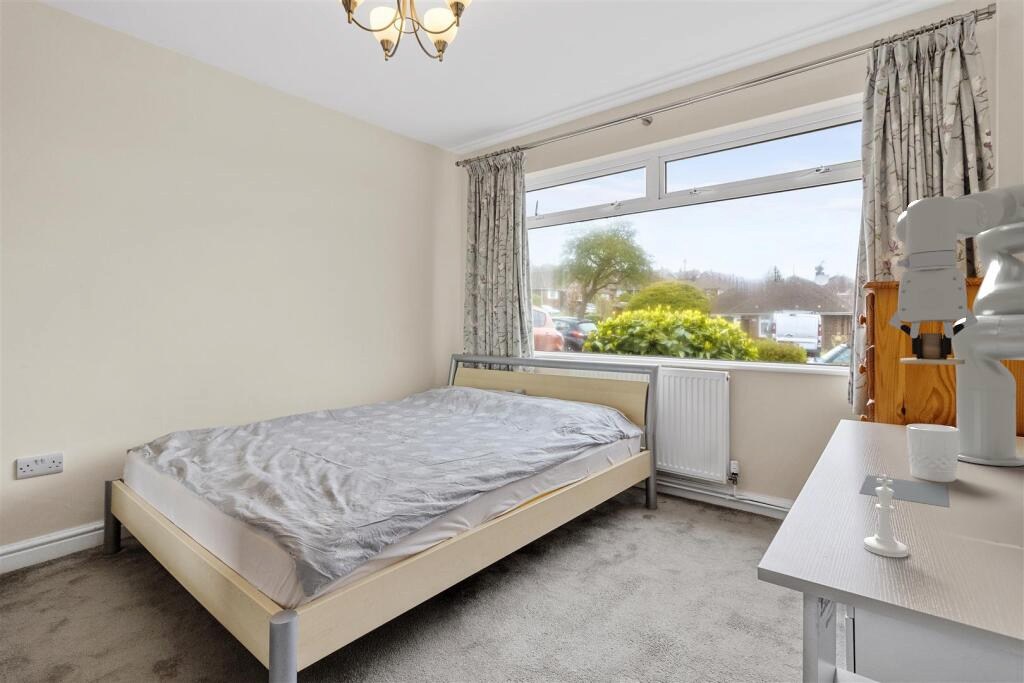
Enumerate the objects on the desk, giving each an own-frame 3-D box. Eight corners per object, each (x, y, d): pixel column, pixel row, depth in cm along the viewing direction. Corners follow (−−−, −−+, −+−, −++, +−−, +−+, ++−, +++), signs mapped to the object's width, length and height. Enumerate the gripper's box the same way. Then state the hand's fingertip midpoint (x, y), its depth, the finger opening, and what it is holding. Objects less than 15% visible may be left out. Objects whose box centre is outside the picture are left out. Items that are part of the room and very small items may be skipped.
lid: (901, 361, 104) (900, 333, 104) (963, 362, 98) (963, 332, 98) (899, 363, 97) (899, 333, 97) (966, 365, 91) (966, 332, 91)
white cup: (898, 476, 100) (897, 426, 100) (920, 471, 103) (920, 422, 103) (945, 487, 93) (945, 432, 93) (968, 480, 96) (968, 428, 96)
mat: (866, 476, 100) (866, 474, 100) (946, 487, 92) (946, 485, 92) (859, 495, 89) (859, 493, 89) (949, 509, 81) (949, 507, 81)
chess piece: (864, 538, 71) (863, 468, 71) (909, 547, 68) (908, 473, 68) (860, 551, 67) (860, 476, 67) (907, 561, 64) (907, 482, 64)
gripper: (877, 265, 100) (877, 358, 100) (991, 256, 89) (991, 360, 89) (880, 269, 105) (880, 357, 106) (987, 261, 95) (988, 358, 95)
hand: (931, 357), depth 98 cm, fingers closed on lid, 3 cm apart
